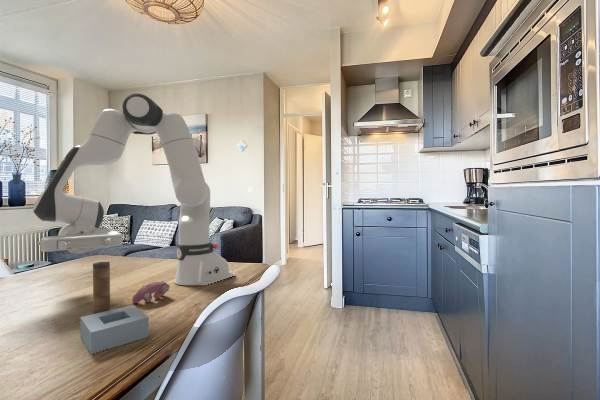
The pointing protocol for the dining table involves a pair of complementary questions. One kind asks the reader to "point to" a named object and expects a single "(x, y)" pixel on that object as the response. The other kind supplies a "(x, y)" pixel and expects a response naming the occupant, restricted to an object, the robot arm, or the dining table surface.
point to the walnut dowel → (101, 287)
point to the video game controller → (151, 291)
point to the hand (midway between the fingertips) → (88, 244)
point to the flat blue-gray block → (113, 328)
